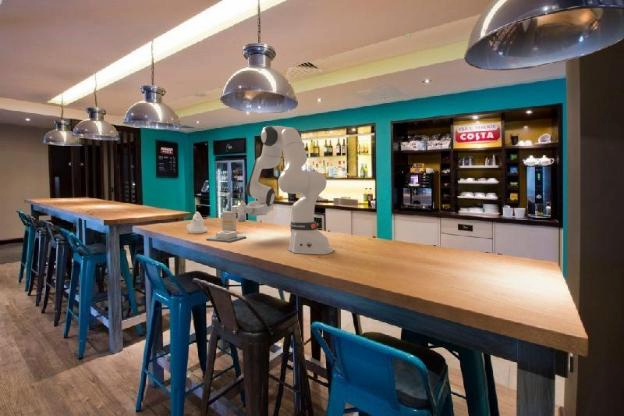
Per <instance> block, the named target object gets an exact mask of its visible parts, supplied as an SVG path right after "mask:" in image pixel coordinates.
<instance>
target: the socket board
mask: <svg viewBox="0 0 624 416" xmlns="http://www.w3.org/2000/svg"><path fill="white" fill-rule="evenodd" d="M244 239H247V236H246V235H238V232H237V231H222V230H221V231H218V232H215V235H214V236H210V237H207V238H206V239H205V240H206V241H210V242H220V243H221V242H222V243H223V242H224V243H232V242H233V243H234V242H236V241H240V240H244Z"/></svg>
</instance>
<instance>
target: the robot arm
mask: <svg viewBox="0 0 624 416" xmlns="http://www.w3.org/2000/svg"><path fill="white" fill-rule="evenodd" d="M260 140H261V142H262V144H263V145H262V150H261V155H260V157H257V158H256V159H255V161H254V163H253V167H252V170H251V173H250V176H249V179H248V182H247V184H246V186H245V193H246V196H247V197H249V198H253V199H256V200H253V201H249V202H248V203H247V204H246V209H245V210H244V212H245V213H246V214H248V215H249V216H250V217H259V216H267V215H268V214H269V213H270V212H271V211H272V210H273V207H274V202H275V200H276V192H275V189H274V188H273V187H270V186H269V185H265V184H263V183H260V182H259V178H260V175H261V172H262V170H263V169H264V170H265V169H273V168H274V169H275V168H276V167H277V166H279V164H280V163H281V159H282V155H283V157H284V162H285V168H284V170H283V172H281V173H280V175H279V177H278V182H277V183H278V188H279V189H280V191H281V192H282V193H287V194H291V195H293V194H294V195H295V194H297V195H298V194H300V196H299V198H298V200H297V201H295V202H294V203H293V204H292V205H291V221H290V239H289V245H288V248H287V250H288V251H290V252H292V254H303V255H305V254H307V255H328V254H331V253H332V252H334V248H333V247H331V246H330V242H329V239H328V237H327V236H326V235H324V234H323V233H322V232H321V231H320V230H319V229H318V226H319V223H318V222H316V221H315V207H316V202H317V200H318V197H319V196H320V194H322V193H323V191H324V190H326V187H327V178H326V176H325V174H324V173H322V172H319V171H313V170H312V171H311V170H303V168H302V167H304V165H305V164H306V163H307V160H308V155H307V152H306V148H305V145H304V142H303V139H302V134H301V131H300V129H298V128H296V127H293V126H292V127H289V126H282V125H275V126H274V125H267V126H265V127H263V128H262V130H261V134H260ZM231 211H232V212H236V214H238V204H237V205H232V206H231Z"/></svg>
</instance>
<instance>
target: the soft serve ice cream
mask: <svg viewBox="0 0 624 416" xmlns="http://www.w3.org/2000/svg"><path fill="white" fill-rule="evenodd" d="M186 229H187V231H188V233H189V234H204V233H206V232H208V228H207V226H206V225H205V222H204V217H202V214H201V213H200V212H199V211H195V213H194V214H193V215H192V219H191V221H190V223H188V224H186Z"/></svg>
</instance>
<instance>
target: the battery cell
mask: <svg viewBox="0 0 624 416" xmlns="http://www.w3.org/2000/svg"><path fill="white" fill-rule="evenodd" d="M237 205H238V213H237V223H245V222H247V213H245V212H244V210H245V209H246V206H247V204H246V202H243V201H240V202H238V203H237Z"/></svg>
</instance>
